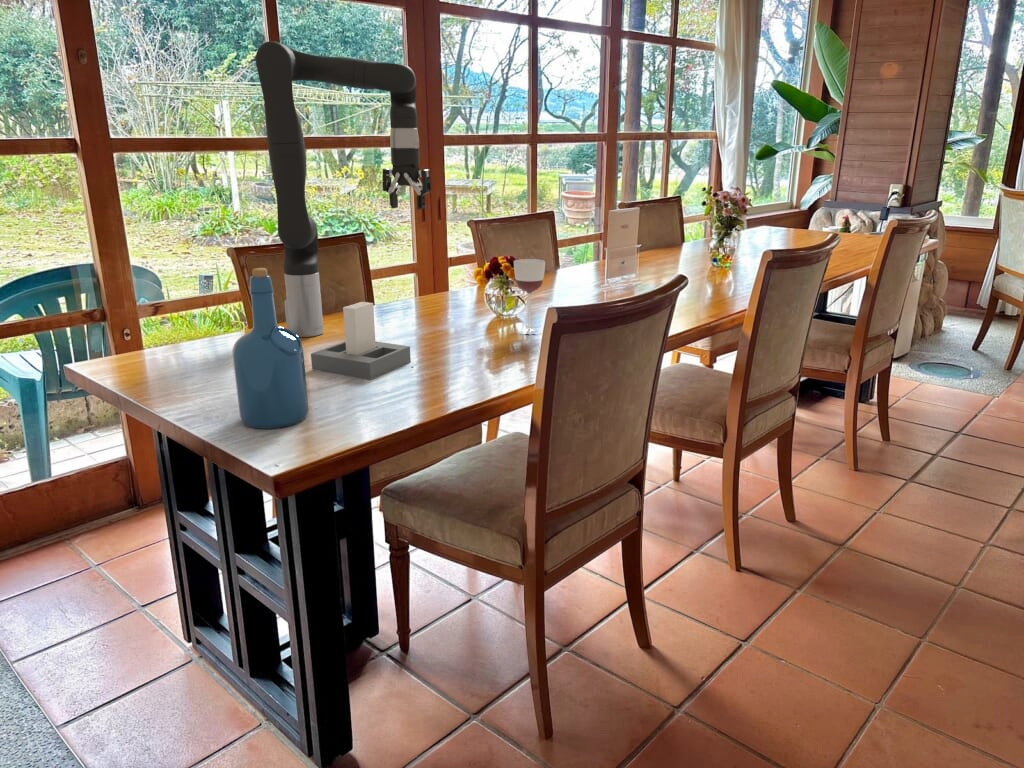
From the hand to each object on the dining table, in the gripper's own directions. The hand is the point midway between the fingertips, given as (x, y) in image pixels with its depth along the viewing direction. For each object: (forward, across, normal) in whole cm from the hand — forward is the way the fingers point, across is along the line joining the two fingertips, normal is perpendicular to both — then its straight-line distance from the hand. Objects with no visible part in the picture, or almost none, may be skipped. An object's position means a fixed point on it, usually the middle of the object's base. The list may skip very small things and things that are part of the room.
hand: (407, 208), depth 210 cm
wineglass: (+34, +30, +14) cm, 48 cm away
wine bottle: (+34, +16, -71) cm, 80 cm away
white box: (+33, +8, -34) cm, 48 cm away
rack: (+34, +8, -34) cm, 49 cm away
